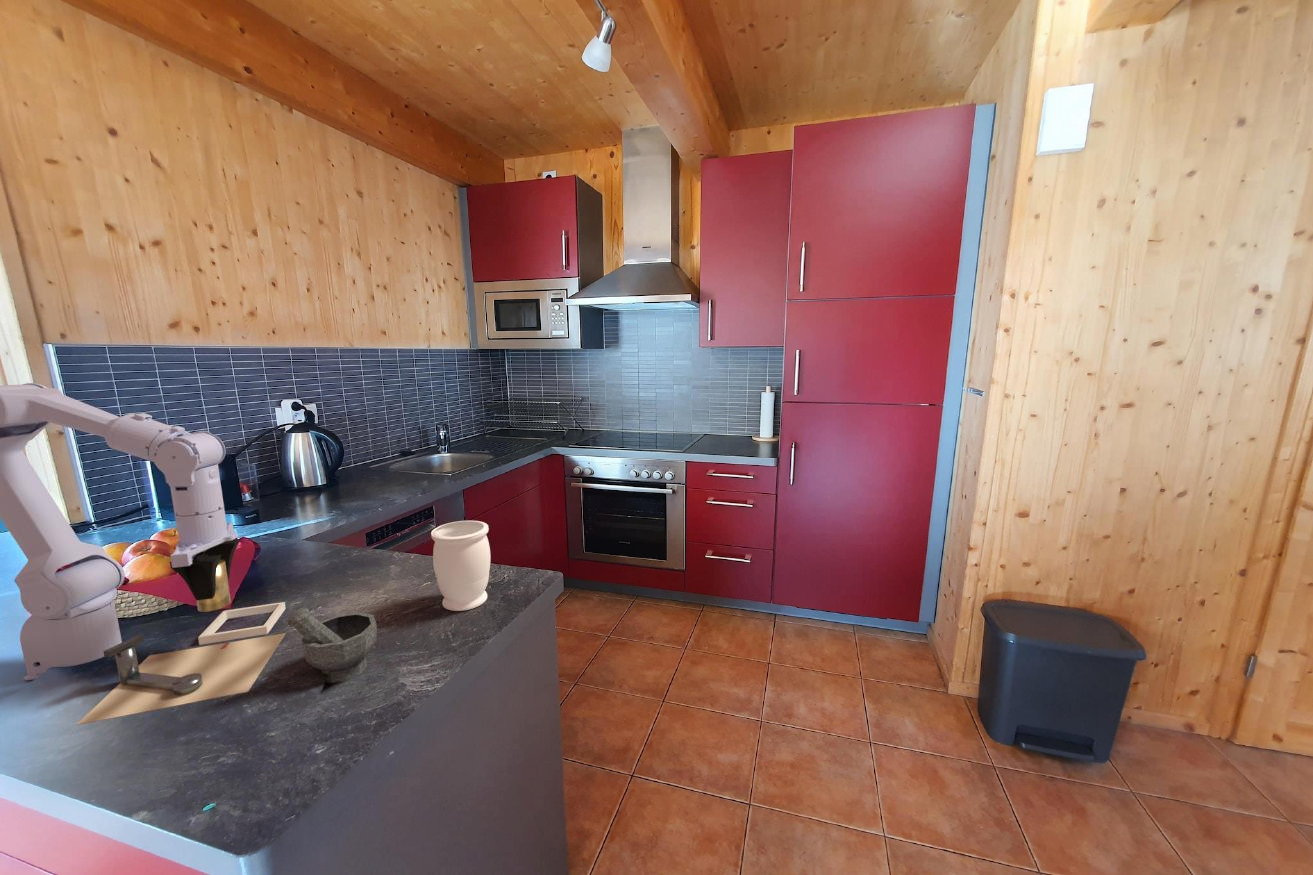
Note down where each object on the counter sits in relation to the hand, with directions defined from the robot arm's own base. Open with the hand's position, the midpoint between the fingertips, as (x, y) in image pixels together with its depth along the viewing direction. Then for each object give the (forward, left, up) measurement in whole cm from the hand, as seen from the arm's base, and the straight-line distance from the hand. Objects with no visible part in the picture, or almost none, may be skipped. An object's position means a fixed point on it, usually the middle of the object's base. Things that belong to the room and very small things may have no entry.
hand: (212, 592), depth 80 cm
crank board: (0, -8, -10) cm, 13 cm away
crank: (-3, -10, -9) cm, 14 cm away
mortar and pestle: (+19, -13, -11) cm, 26 cm away
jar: (+37, +4, -11) cm, 39 cm away
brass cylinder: (0, 0, -2) cm, 2 cm away
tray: (+1, +6, -10) cm, 12 cm away
